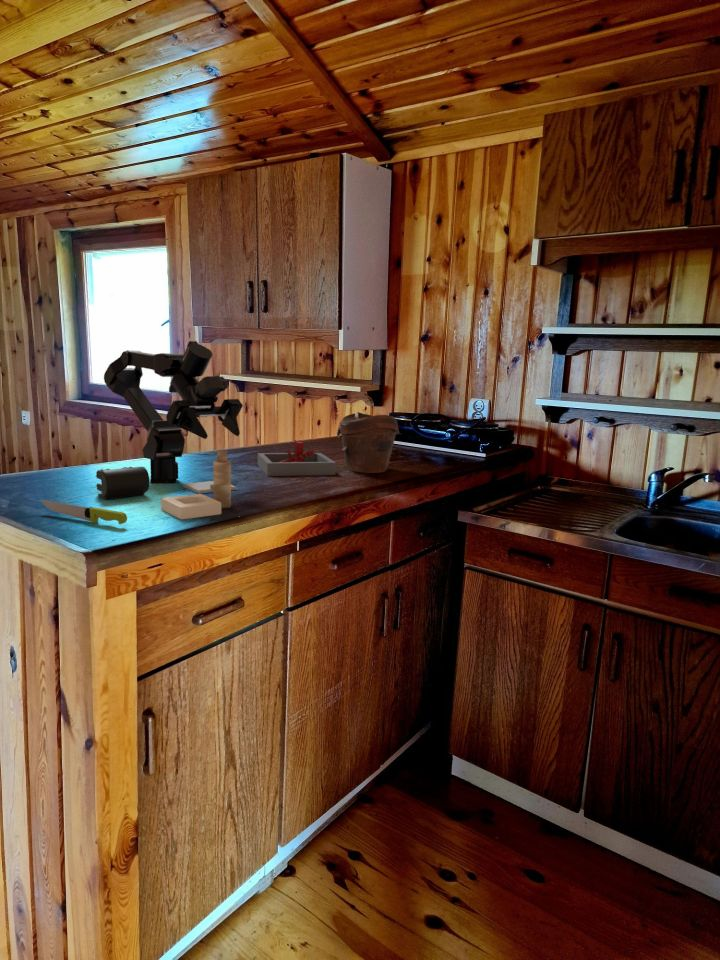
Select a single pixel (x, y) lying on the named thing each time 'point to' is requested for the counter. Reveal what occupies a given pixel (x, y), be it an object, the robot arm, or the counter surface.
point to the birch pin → (222, 479)
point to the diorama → (298, 453)
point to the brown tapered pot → (367, 441)
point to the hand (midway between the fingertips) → (222, 436)
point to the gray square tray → (295, 465)
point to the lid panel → (202, 487)
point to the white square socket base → (190, 506)
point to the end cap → (122, 482)
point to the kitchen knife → (86, 512)
